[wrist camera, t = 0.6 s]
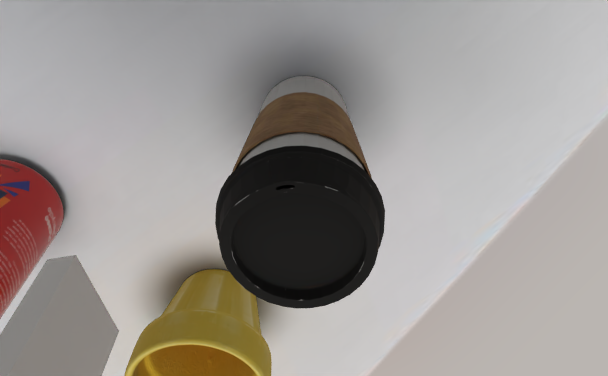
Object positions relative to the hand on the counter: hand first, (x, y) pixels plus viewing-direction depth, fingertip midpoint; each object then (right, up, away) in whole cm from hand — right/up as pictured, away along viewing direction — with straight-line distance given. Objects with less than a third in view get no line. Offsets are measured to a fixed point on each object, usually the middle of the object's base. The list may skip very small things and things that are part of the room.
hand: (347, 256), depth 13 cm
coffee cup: (-1, +7, +24) cm, 25 cm away
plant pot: (-9, -8, +34) cm, 35 cm away
